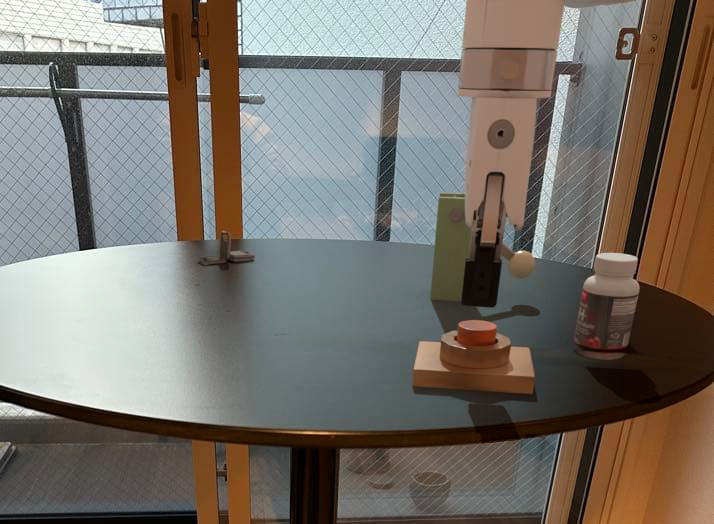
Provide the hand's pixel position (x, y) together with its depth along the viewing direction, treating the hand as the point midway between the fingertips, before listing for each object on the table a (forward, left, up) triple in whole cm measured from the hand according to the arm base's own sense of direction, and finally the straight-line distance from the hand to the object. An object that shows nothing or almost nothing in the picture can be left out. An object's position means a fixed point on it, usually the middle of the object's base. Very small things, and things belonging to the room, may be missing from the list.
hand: (478, 304), depth 75 cm
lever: (0, -26, 0) cm, 26 cm away
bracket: (+3, -26, -7) cm, 27 cm away
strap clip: (+37, -46, -7) cm, 59 cm away
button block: (0, 0, -7) cm, 7 cm away
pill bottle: (-13, -10, -7) cm, 18 cm away
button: (0, 0, -4) cm, 4 cm away
